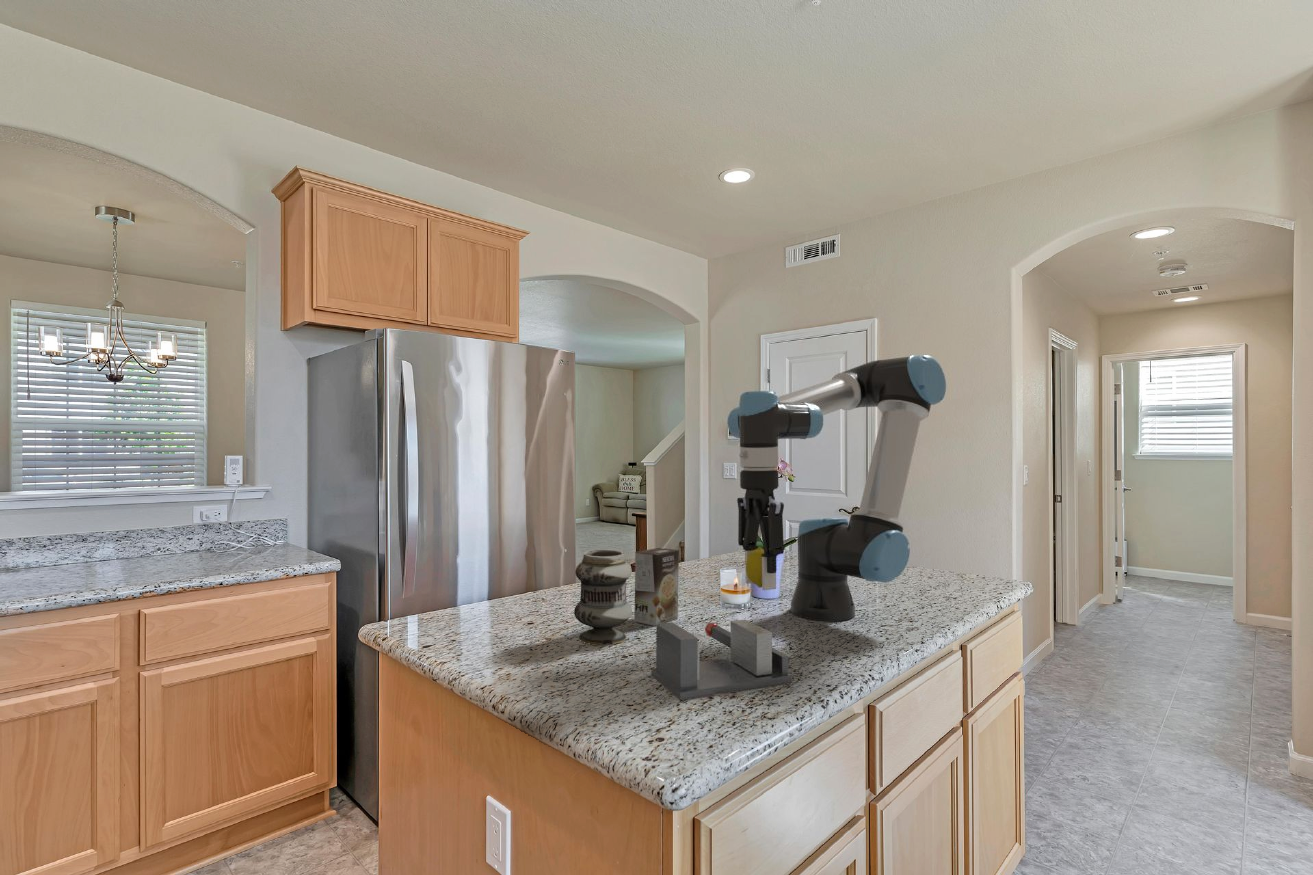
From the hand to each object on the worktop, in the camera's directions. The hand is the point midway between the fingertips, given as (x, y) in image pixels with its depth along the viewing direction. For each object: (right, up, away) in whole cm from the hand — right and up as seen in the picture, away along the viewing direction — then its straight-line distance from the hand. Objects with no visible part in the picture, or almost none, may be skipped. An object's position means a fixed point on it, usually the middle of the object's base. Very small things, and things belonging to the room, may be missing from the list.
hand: (760, 585), depth 128 cm
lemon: (0, -1, 0) cm, 1 cm away
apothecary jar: (-32, -13, +7) cm, 35 cm away
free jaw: (-6, -11, -9) cm, 15 cm away
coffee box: (-21, -13, +21) cm, 33 cm away
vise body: (-10, -12, -16) cm, 23 cm away
